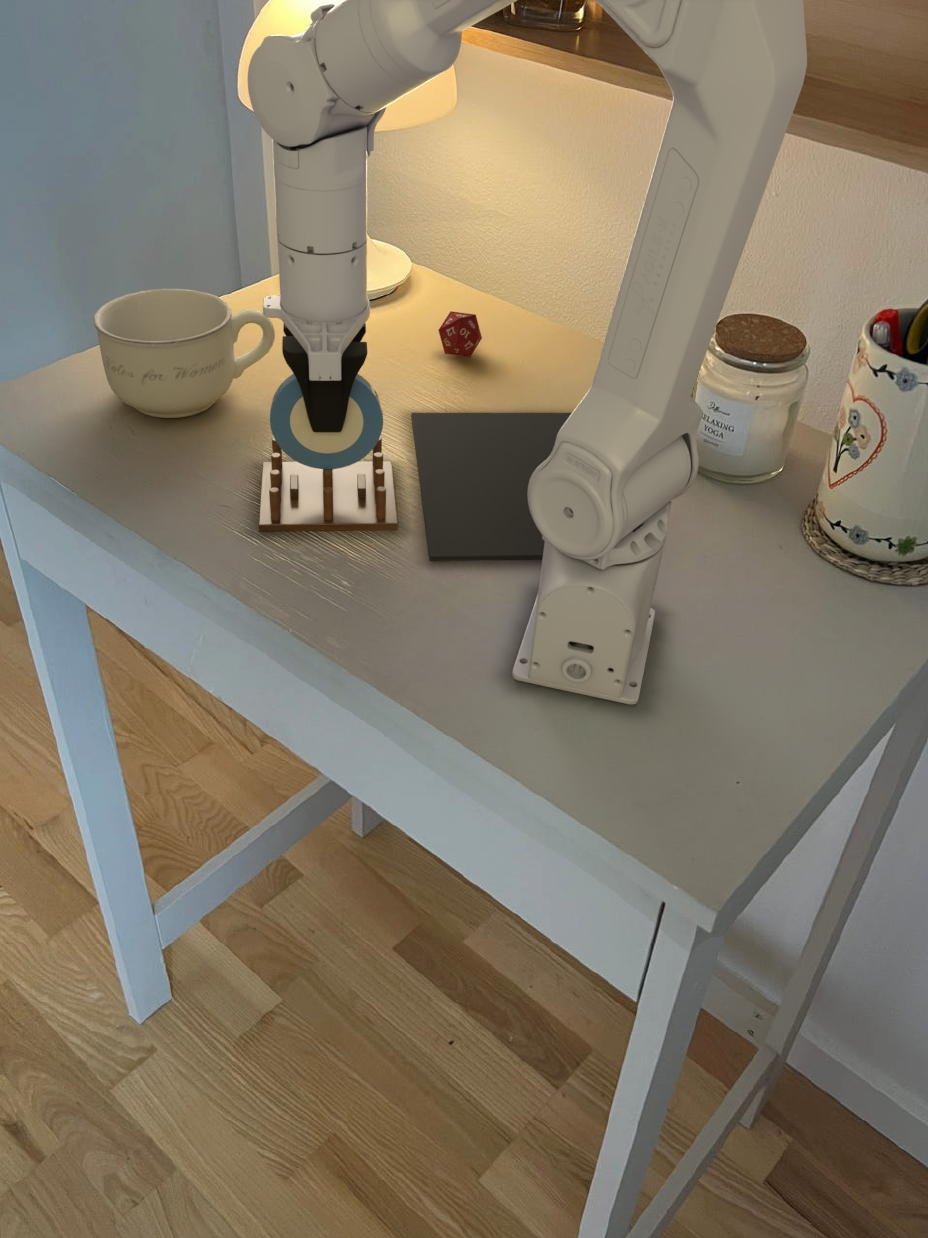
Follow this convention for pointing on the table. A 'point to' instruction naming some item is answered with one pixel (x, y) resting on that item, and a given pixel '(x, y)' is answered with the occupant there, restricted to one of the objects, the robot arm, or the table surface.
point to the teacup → (174, 349)
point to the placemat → (481, 481)
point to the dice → (460, 334)
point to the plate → (326, 446)
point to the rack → (327, 495)
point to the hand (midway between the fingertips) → (327, 423)
